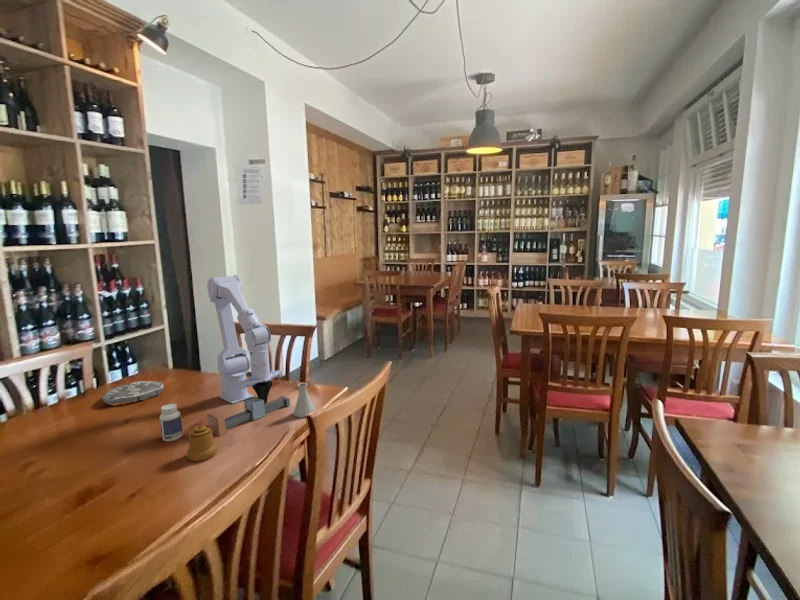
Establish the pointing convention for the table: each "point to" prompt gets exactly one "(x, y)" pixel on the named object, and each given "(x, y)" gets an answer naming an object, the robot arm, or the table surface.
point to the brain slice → (133, 392)
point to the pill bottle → (170, 423)
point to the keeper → (255, 407)
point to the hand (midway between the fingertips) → (263, 403)
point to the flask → (303, 402)
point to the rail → (240, 416)
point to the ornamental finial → (201, 444)
